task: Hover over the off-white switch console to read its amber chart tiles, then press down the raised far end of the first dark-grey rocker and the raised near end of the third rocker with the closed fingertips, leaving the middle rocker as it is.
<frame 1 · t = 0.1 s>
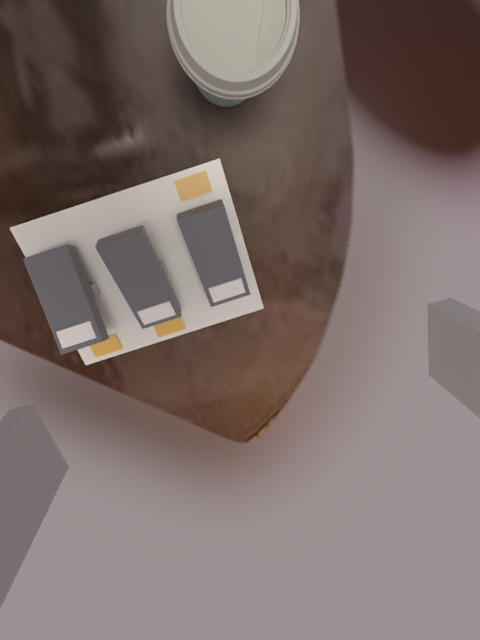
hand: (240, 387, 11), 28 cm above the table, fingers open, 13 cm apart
switch c: (216, 257, 31), point 7 cm above the table, hinge at 15.0°
console: (152, 262, 37), on the table
coffee cup: (225, 71, 31), on the table
switch b: (142, 281, 31), point 7 cm above the table, hinge at 15.0°
switch a: (67, 300, 31), point 7 cm above the table, hinge at -15.0°
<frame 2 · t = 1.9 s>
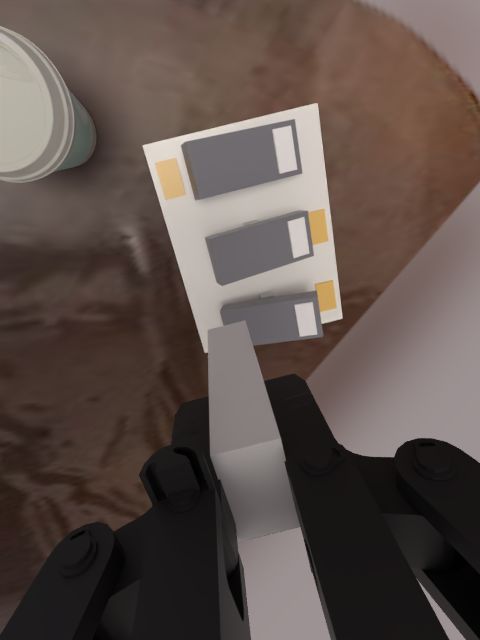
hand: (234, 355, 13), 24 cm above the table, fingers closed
switch c: (244, 159, 27), point 7 cm above the table, hinge at 15.0°
console: (249, 236, 36), on the table
coffee cup: (63, 132, 31), on the table
switch b: (261, 247, 29), point 7 cm above the table, hinge at 15.0°
switch a: (271, 320, 32), point 7 cm above the table, hinge at -15.0°
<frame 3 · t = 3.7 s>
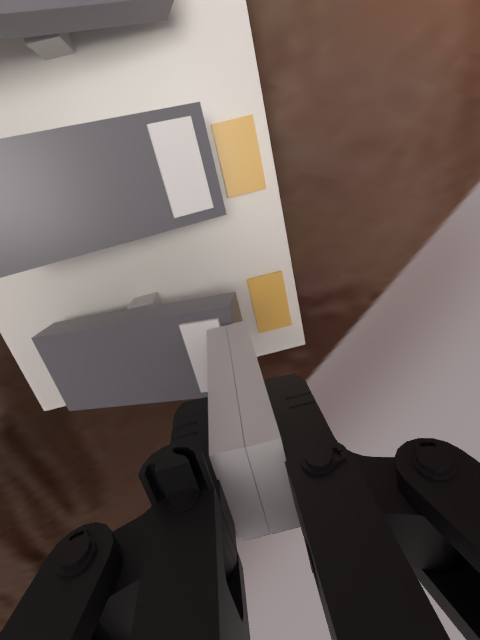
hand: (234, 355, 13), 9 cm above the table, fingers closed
console: (126, 189, 19), on the table
switch b: (94, 190, 12), point 7 cm above the table, hinge at 15.0°
switch a: (145, 356, 15), point 7 cm above the table, hinge at -14.9°, touching gripper
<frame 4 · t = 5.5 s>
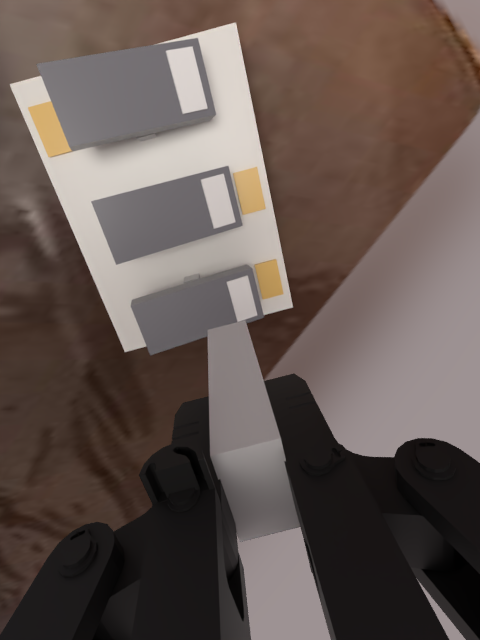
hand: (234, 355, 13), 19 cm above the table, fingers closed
switch c: (133, 95, 20), point 7 cm above the table, hinge at 15.0°
console: (176, 208, 29), on the table
switch b: (171, 214, 23), point 7 cm above the table, hinge at 15.0°
switch a: (199, 309, 25), point 7 cm above the table, hinge at 8.9°
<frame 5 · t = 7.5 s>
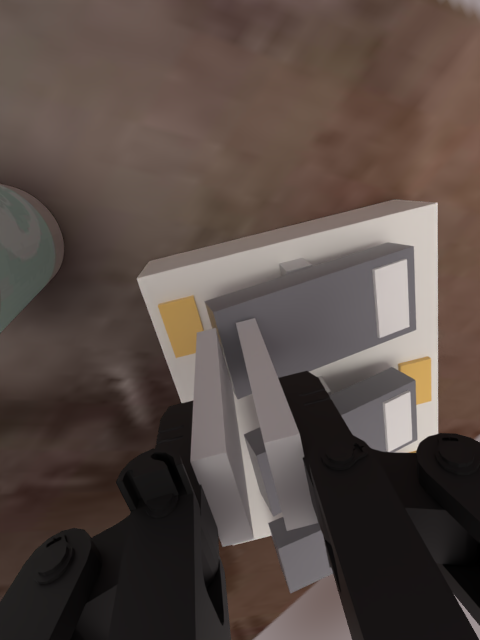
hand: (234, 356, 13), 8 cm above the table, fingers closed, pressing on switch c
switch c: (317, 316, 15), point 7 cm above the table, hinge at 11.9°, touching gripper
console: (298, 371, 24), on the table
coffee cup: (11, 239, 19), on the table
switch b: (337, 438, 18), point 7 cm above the table, hinge at 15.0°
switch a: (349, 528, 20), point 7 cm above the table, hinge at 9.4°
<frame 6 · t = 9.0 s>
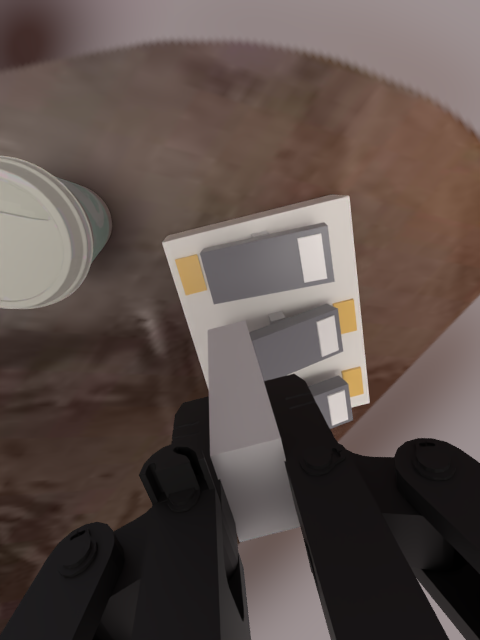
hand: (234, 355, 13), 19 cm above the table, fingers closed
switch c: (267, 264, 25), point 7 cm above the table, hinge at -10.3°
console: (270, 316, 34), on the table
coffee cup: (77, 220, 29), on the table
switch b: (288, 346, 28), point 7 cm above the table, hinge at 15.0°
switch a: (301, 415, 30), point 7 cm above the table, hinge at 9.4°
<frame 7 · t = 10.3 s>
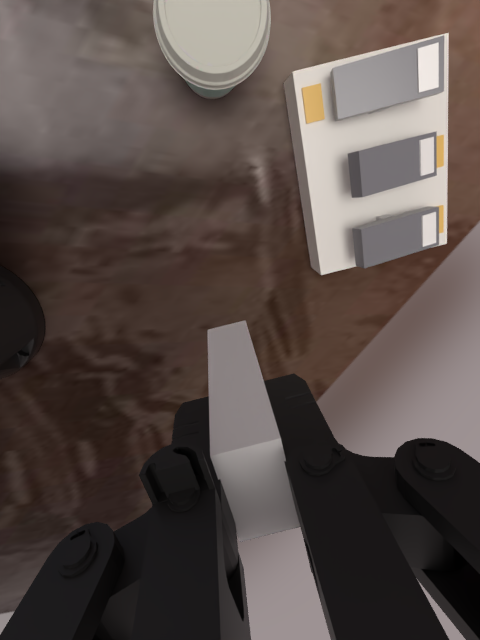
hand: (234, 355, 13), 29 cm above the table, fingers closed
switch c: (385, 81, 30), point 7 cm above the table, hinge at -11.1°
console: (361, 168, 39), on the table
coffee cup: (210, 66, 34), on the table
switch b: (394, 164, 33), point 7 cm above the table, hinge at 15.0°
switch a: (396, 236, 35), point 7 cm above the table, hinge at 9.4°
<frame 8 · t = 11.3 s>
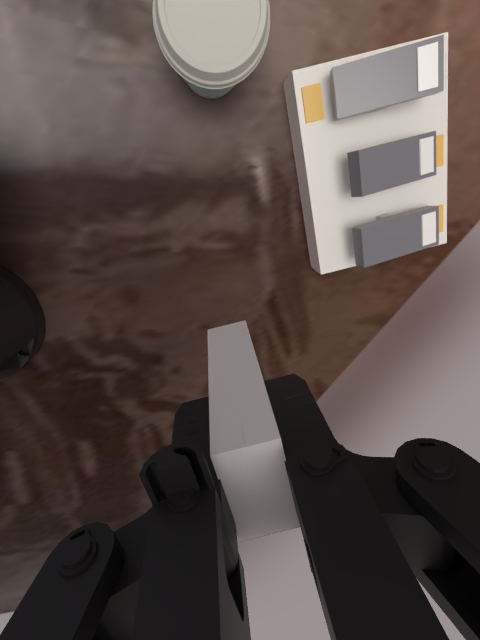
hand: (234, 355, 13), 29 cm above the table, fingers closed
switch c: (385, 80, 30), point 7 cm above the table, hinge at -11.2°
console: (361, 168, 39), on the table
coffee cup: (210, 65, 34), on the table
switch b: (393, 164, 33), point 7 cm above the table, hinge at 15.0°
switch a: (396, 236, 35), point 7 cm above the table, hinge at 9.4°
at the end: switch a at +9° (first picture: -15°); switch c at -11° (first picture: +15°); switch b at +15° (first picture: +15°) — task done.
